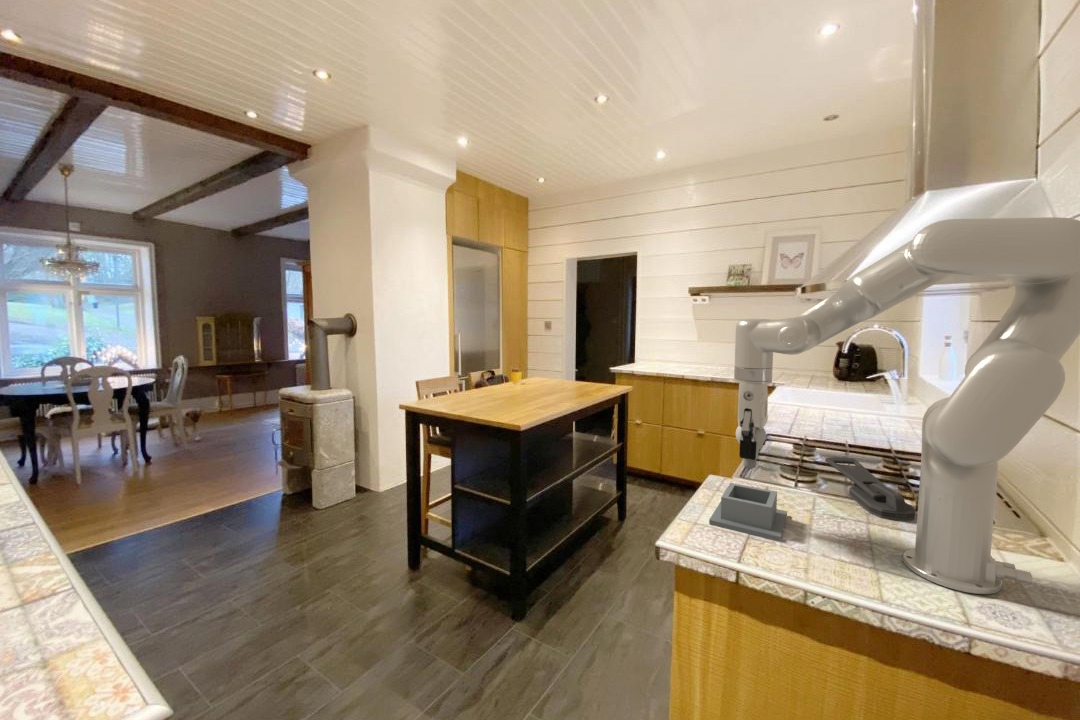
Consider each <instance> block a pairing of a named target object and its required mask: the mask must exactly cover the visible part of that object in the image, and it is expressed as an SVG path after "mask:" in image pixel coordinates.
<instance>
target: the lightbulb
mask: <svg viewBox="0 0 1080 720" xmlns="http://www.w3.org/2000/svg"><path fill="white" fill-rule="evenodd" d="M750 427H754V425H751V424H750ZM750 431H751V432H752V430H750ZM735 438H736V440H737V442H738V444H739V445H740V438H741V427H740V426H739V425H738V426H737V427H736V430H735ZM766 438H767V433H766V430H765V427H764V428H762V429H761V430H760V429H759V428H757V427H756V435H755V441H756V459H755V460H751V459H745V458H742V461H743V466H744V467H745V468H747V469H748V470H752V469H754V468H755V467H756V466H757V459H759V458H758V456H759V453H760V451H761V447H762V446H763V445H764V443H765V442H766V440H767V439H766ZM759 450H760V451H759Z"/></svg>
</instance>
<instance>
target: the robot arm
mask: <svg viewBox="0 0 1080 720" xmlns="http://www.w3.org/2000/svg"><path fill="white" fill-rule="evenodd" d="M952 275H962V276H977V277H979V276H980V277H1000V278H1009V279H1010V280H1011V281H1012V282H1013V284H1014V288H1015V290H1014V291H1015V293H1014V297H1013V299H1012V302H1011V304H1010V305H1009V307H1008V308H1007V310H1006V311H1005V313H1004V314H1003V315H1002V317H1001V319H1000V320H999V322H998V323H997V325H996V326H995V327H994V328H993V329H992V331H991V332H990V333H989V334H988V336H987V337H986V338H985V340H984V341H983V342H982V344H980V345H979V347H978V348H977V349H976V350H975V352H973V353H972V355H971V356H970V357H969V358H968V360H967V362H966V364H965V366H964V374H965V376H964V378H963V379H962V380H961V381H960V383H959V384H958V386H956V388H955V389H954V390H953V392H952V394H951V395H950V396H949V397H945V398H941V399H939V400H936V401H935V402H934V403H932V404H930V406H929V407H928V408H927V409H926V411H925V412H924V415H923V418H922V424H921V458H920V460H921V461H920V471H919V473H920V474H919V475H920V476H919V487H918V488H919V489H918V501H917V502H918V503H917V517H916V531H915V533H916V534H915V546H914V548H909V549H908V550H905V551H904V552H903V555H902V556H903V563H904V564H905V566H907V568H908V569H909V570H910V571H912V572H914V573H915V574H917V575H918V576H920V577H922V578H923V579H926V580H928V581H929V582H933V584H937V585H940V586H942V587H945V588H948V589H951V590H956V591H959V592H964V593H968V594H974V595H975V594H976V595H992V594H996V593H997V594H998V593H999V592H1000V591H1002V587H1003V586H1002V585H1003V580H1004V579H1008V580H1012V581H1014V582H1018V583H1022V584H1026V585H1032V583H1033V575H1032V573H1031V571H1026V570H1022V569H1017V568H1016V565H1015V564H1014V563H1010V562H1005V561H1000V560H996V559H995V558H993V556H992V541H993V533H994V532H993V531H994V521H995V520H994V519H995V508H996V496H997V488H998V487H997V486H998V472H999V471H998V470H999V469H998V467H999V465H998V464H999V463H998V462H999V461H1001V460H1002V459H1004V458H1005V457H1006V456H1007V455H1009V454H1010V452H1012V451H1013V449H1015V447H1017V445H1018V444H1019V443H1020V442H1021V441H1022V440H1023V438H1024V437H1025V436H1026V435H1027V434H1028V433H1029V432H1030V430H1031V429H1033V427H1034V426H1035V425H1036V424H1037V422H1038V421H1039V420H1041V418H1042V417H1043V416H1044V415H1045V414H1046V413H1047V411H1048V410H1049V409H1050V408H1051V406H1052V405H1053V404H1054V403H1055V402H1056V400H1057V399H1058V397H1059V396H1060V394H1061V392H1062V391H1063V388H1064V385H1065V384H1066V383H1065V381H1066V373H1065V369H1064V367H1063V365H1062V363H1061V362H1060V360H1062V358H1063V357H1064V355H1065V354H1066V353H1067V352H1068V351H1069V349H1070V348H1071V347H1072V346H1073V344H1074V342H1075V341H1076V340H1077V338H1078V337H1079V336H1080V220H1079V219H1075V218H1071V217H1070V218H1069V217H1061V216H1060V217H1054V216H1052V217H1051V216H1050V217H1048V216H1047V217H1044V216H1043V217H1009V218H1008V217H1007V218H1006V217H1003V218H1001V217H1000V218H999V217H997V218H953V219H951V218H950V219H944V220H942V219H941V220H938V221H935V222H933V223H930V224H929V225H926V226H925V227H923V228H922V229H920V230H919V232H917V234H916V235H915V236H914V237H913V238H912V239H911V240H910V241H908V242H906V243H905V244H902V245H901V246H900V247H898V248H896V249H895V250H893V251H892V252H890V253H889V254H886V255H885V256H884V257H882V258H880V259H878V260H876V262H873V263H872V264H871V265H868V266H867V267H865V268H863V269H862V270H860V271H859V272H857V273H855V274H853V275H852V276H850V277H849V278H848V279H847V280H846V281H844V282H843V283H842V284H841V285H840V287H839V288H838V289H837V290H836V291H835V292H834V293H832V294H831V295H829V296H828V297H827V298H825V299H824V300H822V301H821V302H819V303H817V304H816V305H814V306H812V307H811V308H809V309H808V310H806V311H804V312H802V313H801V314H799V315H797V316H796V317H788V318H781V319H776V320H775V319H773V320H770V319H766V318H747V319H741V320H739V321H738V322H737V323H736V324H735V338H734V340H735V341H734V342H735V344H734V347H735V348H734V375H733V378H734V379H733V381H734V382H735V383H739V384H738V396H737V397H738V399H737V425H738V426H740V427H741V438H740V444H739V458H740V459H743V458H745V459H751V460H755V459H756V441H755V435H756V427H757V428H759V429H760V430H761V429H762V428H764V429H765V426H766V425H767V423H768V417H769V416H768V399H769V398H768V397H769V396H768V394H769V393H768V392H769V391H768V384H772V383H773V365H774V362H773V361H774V353H776V354H783V355H792V356H793V355H799V354H802V353H805V352H807V351H809V350H812V349H813V348H815V347H817V346H819V345H820V344H823V343H824V342H826V341H828V340H830V339H831V338H834V337H835V336H838V335H839V334H841V333H843V332H845V331H846V330H848V329H850V328H852V327H853V326H856V325H858V324H859V323H862V322H866V321H867V320H870V319H873V318H875V317H876V316H878V315H880V314H882V313H884V312H885V311H887V310H889V309H892V308H893V307H895V306H896V305H899V304H901V303H902V302H904V301H906V300H908V299H909V298H912V297H913V296H915V295H918V294H919V293H921V292H923V291H924V290H927V289H929V288H931V287H933V286H934V285H936V284H938V283H940V282H941V281H943V280H945V279H947V278H949V277H951V276H952ZM750 424H751V425H754V427H750ZM750 430H752V432H751V431H750ZM760 451H761V449H760V450H759V452H760ZM756 460H757V459H756Z"/></svg>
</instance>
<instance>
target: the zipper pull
mask: <svg viewBox="0 0 1080 720" xmlns="http://www.w3.org/2000/svg"><path fill="white" fill-rule="evenodd" d="M824 462H825V463H827V464H829V465H830V466H831V467H832V468H834V469H836V470H837V471H838V472H839V473H840V474H842V475H843V476H845V477H846V478H848V480H849V481H851V482H853V483H854V484H855V486H851V487H849V488H848V489H849V491H848V496H849V497H850V498H851V499H853V500H854V502H856V503H857V504H859V506H861V508H863V509H864V510H865V511H866V512H867V513H869V514H870V515H872V516H875V517H878V518H879V519H883V520H884V519H885V520H892V521H901V522H903V521H905V522H906V521H912V520H913V521H914V520H915V517H916V509H915V508H914V507H913V506H912V505H911V504H909V503H908V502H906V501H905V498H904V496H903V495H902V494H900V493H898V492H897V491H895V490H893V489H892V488H890V487H888V486H887V485H886V484H884V483H883V482H881V481H880V480H879V479H878V478H877V477H876V476H875V475H873V474H872V473H871V472H870V471H869V470H868V469H867V468H865V467H864V466H863V464H861V463H860V462H859V461H858V460H857V459H856V458H854V457H844V456H843V457H841V456H831V457H830V456H829V457H825V459H824ZM844 464H845V465H844ZM846 464H847V465H846ZM868 485H869V486H868Z"/></svg>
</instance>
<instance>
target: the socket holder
mask: <svg viewBox="0 0 1080 720" xmlns="http://www.w3.org/2000/svg"><path fill="white" fill-rule="evenodd" d="M777 499H778V491H775V490H771V489H770V490H769V489H765V488H759V487H754V486H749V485H743V484H739V483H735V482H734V483H733V482H730V483H729V484H728V486H727V487H726V489H725V490H724V492H723V494H722V495H721V496H720V502H719V503H718V505H717V507H716V508H715V510H714V512H713V513H712V515H711V517H710V518H709V520H708V523H709V525H711V524H713V525H712V526H715V525H716V527H718V528H719V527H720V528H724V529H728V530H731V531H732V530H733V531H736V532H739V533H744V534H748V535H753V536H756V537H760V538H765V539H769V540H772V541H777V542H781V541H782V537H783V534H784V530H783V529H785V526H784V525H786V522H785V521H787V518H788V511H787V510H782V509H778V508H777V505H778V503H777V502H778V500H777ZM786 517H787V518H786Z"/></svg>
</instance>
